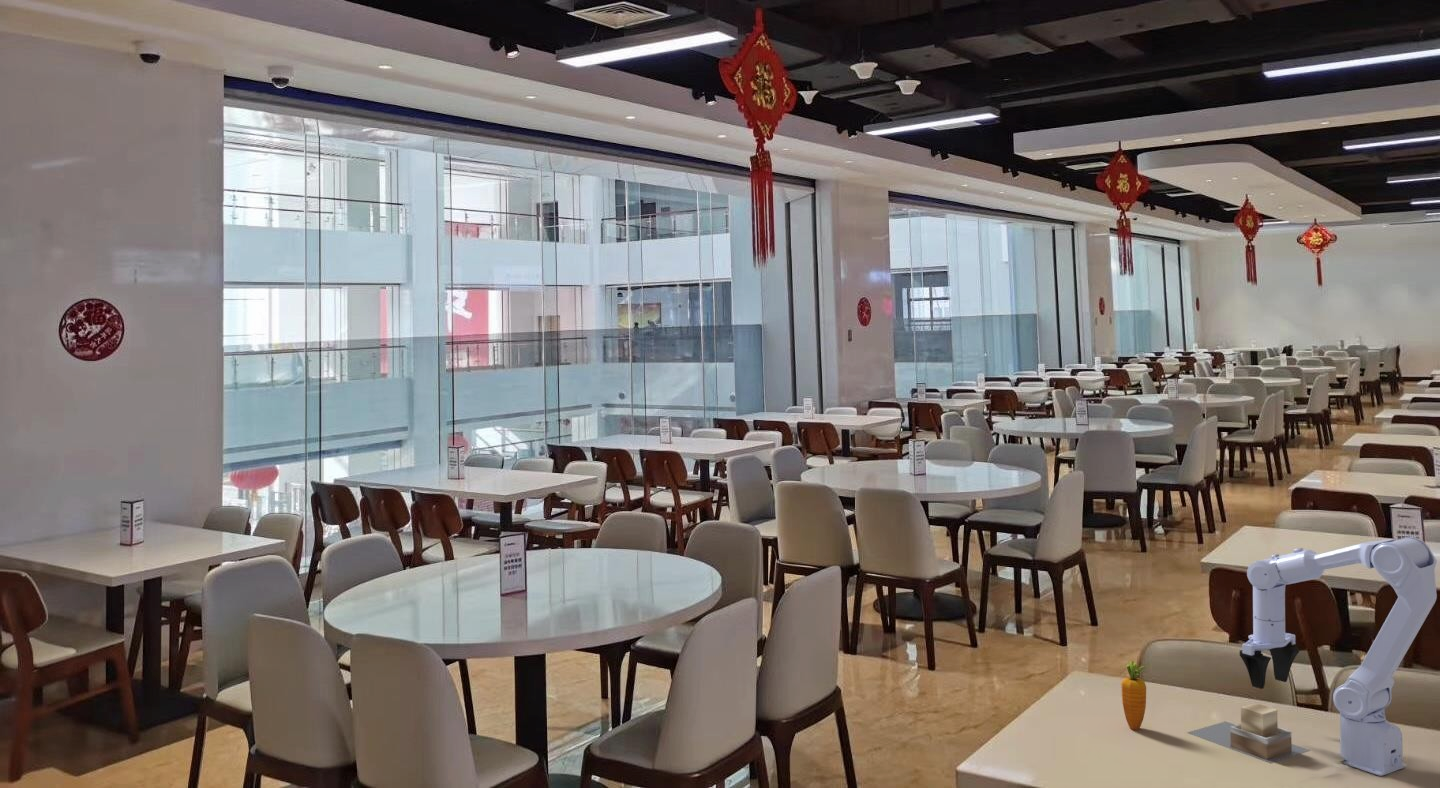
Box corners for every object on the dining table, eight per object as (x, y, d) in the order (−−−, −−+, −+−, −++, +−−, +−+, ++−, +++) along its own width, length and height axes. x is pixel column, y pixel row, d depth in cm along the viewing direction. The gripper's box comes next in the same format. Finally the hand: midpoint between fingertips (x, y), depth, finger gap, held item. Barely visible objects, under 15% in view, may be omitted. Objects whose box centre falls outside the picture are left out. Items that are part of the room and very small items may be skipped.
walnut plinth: (1291, 751, 191) (1291, 731, 191) (1266, 760, 187) (1266, 739, 187) (1255, 739, 197) (1254, 719, 197) (1230, 746, 194) (1230, 726, 194)
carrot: (1125, 727, 208) (1124, 656, 208) (1150, 732, 205) (1149, 660, 205) (1118, 734, 205) (1117, 662, 204) (1143, 739, 201) (1142, 666, 201)
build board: (1310, 755, 191) (1310, 750, 191) (1270, 768, 186) (1270, 763, 186) (1225, 726, 207) (1225, 721, 207) (1186, 737, 202) (1186, 732, 202)
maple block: (1277, 735, 192) (1277, 709, 191) (1263, 739, 189) (1262, 714, 189) (1255, 727, 195) (1255, 702, 195) (1241, 732, 193) (1240, 707, 193)
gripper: (1272, 608, 208) (1272, 672, 209) (1228, 618, 201) (1228, 684, 202) (1305, 615, 202) (1305, 681, 203) (1261, 626, 195) (1261, 694, 196)
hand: (1269, 683), depth 202 cm, fingers open, 7 cm apart
